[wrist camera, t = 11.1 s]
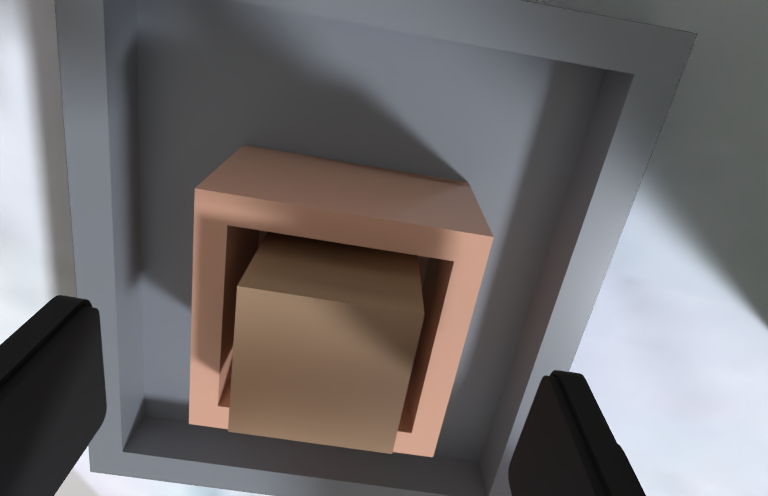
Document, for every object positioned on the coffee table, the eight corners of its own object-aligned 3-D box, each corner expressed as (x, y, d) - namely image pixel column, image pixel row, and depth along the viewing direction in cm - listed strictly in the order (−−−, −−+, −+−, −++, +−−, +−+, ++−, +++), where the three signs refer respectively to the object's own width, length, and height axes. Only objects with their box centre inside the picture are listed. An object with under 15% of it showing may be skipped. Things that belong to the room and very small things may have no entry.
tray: (100, -74, 15) (47, -90, 12) (652, 30, 16) (697, 33, 13) (121, 423, 22) (90, 471, 20) (497, 475, 23) (509, 526, 21)
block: (283, 202, 17) (237, 286, 12) (414, 224, 17) (424, 314, 12) (272, 315, 18) (227, 431, 13) (391, 333, 19) (392, 454, 14)
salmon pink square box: (243, 144, 17) (194, 188, 12) (468, 182, 17) (493, 236, 13) (231, 336, 19) (188, 424, 15) (424, 365, 20) (433, 457, 16)
